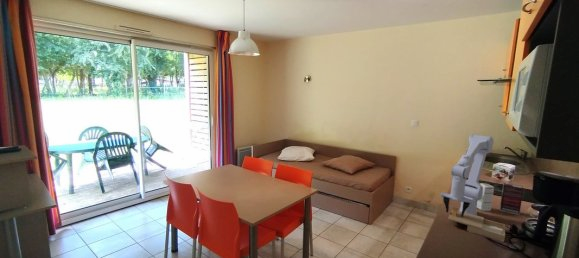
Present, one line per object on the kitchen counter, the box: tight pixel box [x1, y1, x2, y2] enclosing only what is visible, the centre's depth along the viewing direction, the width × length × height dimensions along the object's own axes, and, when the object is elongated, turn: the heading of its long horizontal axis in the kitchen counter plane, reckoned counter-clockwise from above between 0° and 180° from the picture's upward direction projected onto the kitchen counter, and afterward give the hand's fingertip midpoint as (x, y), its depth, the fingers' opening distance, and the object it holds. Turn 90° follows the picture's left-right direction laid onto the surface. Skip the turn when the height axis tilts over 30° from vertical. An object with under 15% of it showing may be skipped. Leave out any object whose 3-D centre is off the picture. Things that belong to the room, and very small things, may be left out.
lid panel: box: [447, 207, 485, 229], centre depth 134 cm, size 14×14×4 cm
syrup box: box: [476, 182, 495, 212], centre depth 153 cm, size 6×6×14 cm
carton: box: [466, 218, 506, 243], centre depth 129 cm, size 14×14×3 cm
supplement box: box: [499, 182, 524, 216], centre depth 150 cm, size 9×5×16 cm, turn 54°
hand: (454, 213), depth 137 cm, fingers open, 6 cm apart
